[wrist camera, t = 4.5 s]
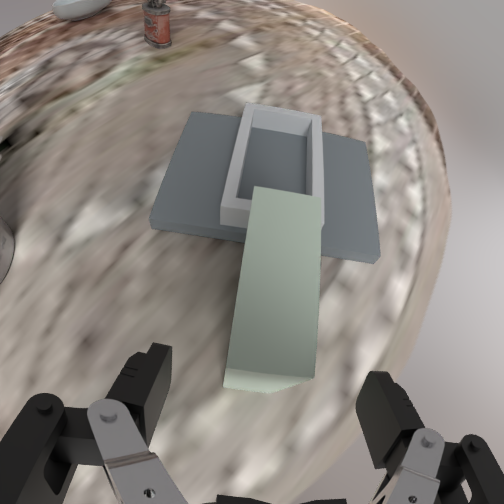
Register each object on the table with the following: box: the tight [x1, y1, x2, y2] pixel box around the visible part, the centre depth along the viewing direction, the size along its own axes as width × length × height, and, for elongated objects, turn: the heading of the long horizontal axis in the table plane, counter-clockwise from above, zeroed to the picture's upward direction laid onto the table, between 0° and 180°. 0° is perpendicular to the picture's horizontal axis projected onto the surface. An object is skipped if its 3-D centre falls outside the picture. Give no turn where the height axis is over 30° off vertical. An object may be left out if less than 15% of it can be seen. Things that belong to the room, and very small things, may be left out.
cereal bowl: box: [52, 0, 112, 21], centre depth 52 cm, size 17×17×7 cm
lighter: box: [142, 0, 171, 49], centre depth 41 cm, size 8×3×10 cm, turn 37°
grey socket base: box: [149, 102, 381, 264], centre depth 29 cm, size 20×15×4 cm
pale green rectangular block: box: [223, 186, 321, 393], centre depth 19 cm, size 4×9×11 cm, turn 173°
